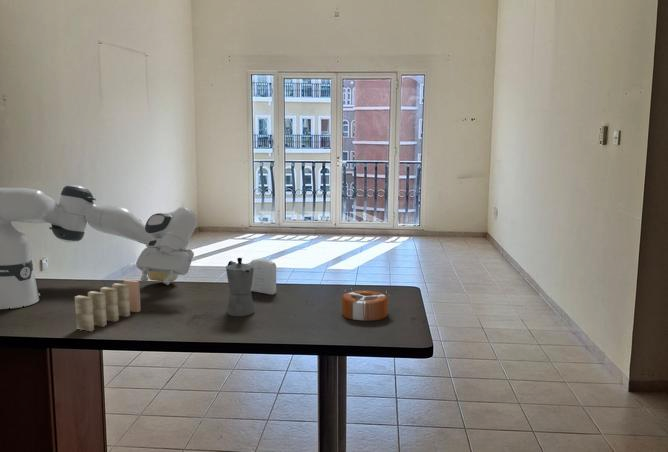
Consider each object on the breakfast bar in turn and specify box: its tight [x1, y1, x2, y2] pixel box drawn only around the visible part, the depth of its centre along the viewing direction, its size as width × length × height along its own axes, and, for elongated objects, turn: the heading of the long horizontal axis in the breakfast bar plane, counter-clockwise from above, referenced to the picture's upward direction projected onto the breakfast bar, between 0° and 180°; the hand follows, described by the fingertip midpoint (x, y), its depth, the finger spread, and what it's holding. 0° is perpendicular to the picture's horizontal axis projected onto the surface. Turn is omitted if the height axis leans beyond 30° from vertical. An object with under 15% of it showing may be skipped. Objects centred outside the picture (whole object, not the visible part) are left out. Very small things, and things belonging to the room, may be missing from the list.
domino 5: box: [122, 278, 142, 313], centre depth 186 cm, size 5×2×10 cm, turn 68°
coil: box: [341, 287, 390, 322], centre depth 184 cm, size 7×15×15 cm
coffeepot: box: [225, 257, 255, 317], centre depth 186 cm, size 15×9×18 cm, turn 33°
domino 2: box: [87, 290, 108, 327], centre depth 173 cm, size 5×2×10 cm, turn 68°
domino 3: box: [99, 286, 120, 323], centre depth 177 cm, size 5×2×10 cm, turn 68°
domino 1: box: [74, 294, 95, 332], centre depth 168 cm, size 5×2×10 cm, turn 68°
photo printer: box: [249, 258, 277, 295], centre depth 209 cm, size 10×4×12 cm, turn 60°
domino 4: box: [111, 282, 131, 318], centre depth 182 cm, size 5×2×10 cm, turn 68°
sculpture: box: [147, 271, 179, 283], centre depth 219 cm, size 12×12×11 cm
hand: (154, 282), depth 195 cm, fingers open, 8 cm apart
